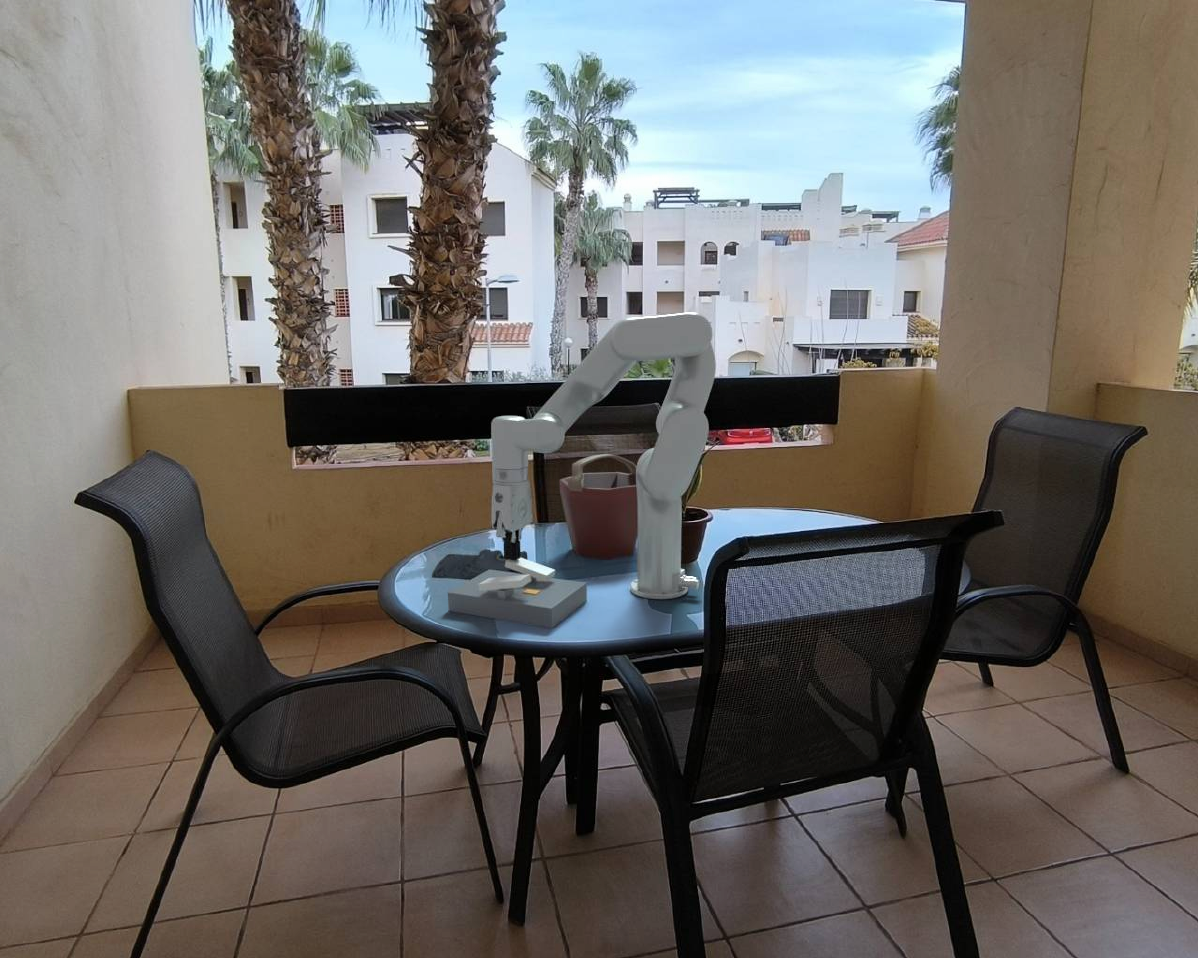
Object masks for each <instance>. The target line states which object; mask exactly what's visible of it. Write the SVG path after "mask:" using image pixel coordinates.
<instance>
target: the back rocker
mask: <svg viewBox="0 0 1198 958" xmlns="http://www.w3.org/2000/svg"><path fill="white" fill-rule="evenodd" d="M505 567H507V568H510V569H513V570H515V571H518V572H521V573H523V574H526V575H528V574H530V576H532V577H534V578H537V579H540V580H542V581H545V582H546V581H547V580H549V579H550V578H554V577H555V574H556V569H554V568H551V567H548V566H545V565H543V564H540V563H538V562H536V561H532V560H529V559H528V560H526V559H524V558H521V557H520V558H519V559H518V560H509V559H508V560H506V563H505Z"/></svg>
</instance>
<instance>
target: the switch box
mask: <svg viewBox="0 0 1198 958" xmlns="http://www.w3.org/2000/svg"><path fill="white" fill-rule="evenodd" d="M518 575H526V574H519V573H511V572H504V571H497V570H490V569H489V570H488V571H486V572H484V573H482V574H480V575H478V576H477V577H475V578H473V579H471V580H467V581H466V582H464V583H462V584H460V585H458V586H457V587H455V588H453V589H451V590H450V591H448V592H447V598H448V599H447V602H448V603H447V604H448V611H449V612H455V613H460V614H466V615H472V616H478V617H483V618H491V619H496V620H501V621H507V622H512V623H513V622H514V623H519V624H526V625H531V626H536V627H537V626H538V627H544V628H549V629H553V628H555V627H556V626H557V625H558V624H559V623H561V622H562V621H563V620H564V619H566V618H567V617H569V615H571V614H572V613H574V612H575V611H576V610H577V609H578V608H579V607H581V606H582V605H584V604H585V603H586V602H587V600H588V598H587V597H588V596H587V595H588V594H587V593H588V591H587V590H588V589H587V586H588V585H587V582H585V581H583V582H582V581H576V580H569V579H561V578H554V577H552V578H550V579H549V580H547V581H546V582H545V581H542V580H540V579H537V578H534V577H532V576H530V577H531V582H529V583H527V584H526V585H524V586H523V587H519V588H507V589H495V590H484V591H480V590H479V586H478V584H479V583H481V582H483V581H485V580H487V579H488V578H496V577H507V576H518Z"/></svg>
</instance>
